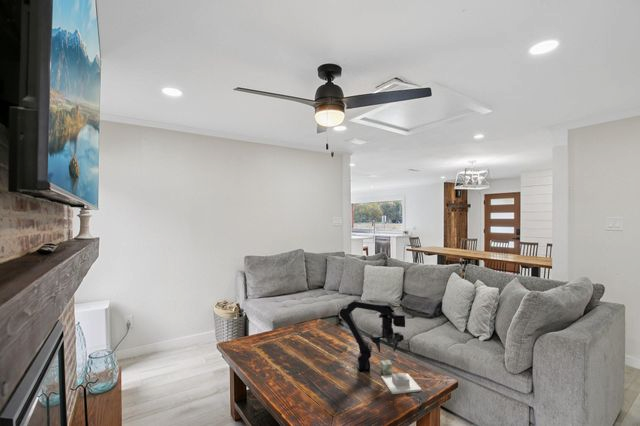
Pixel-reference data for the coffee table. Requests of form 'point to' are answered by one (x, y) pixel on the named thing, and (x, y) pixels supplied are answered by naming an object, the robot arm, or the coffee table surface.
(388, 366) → the sage block
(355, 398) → the coffee table surface
